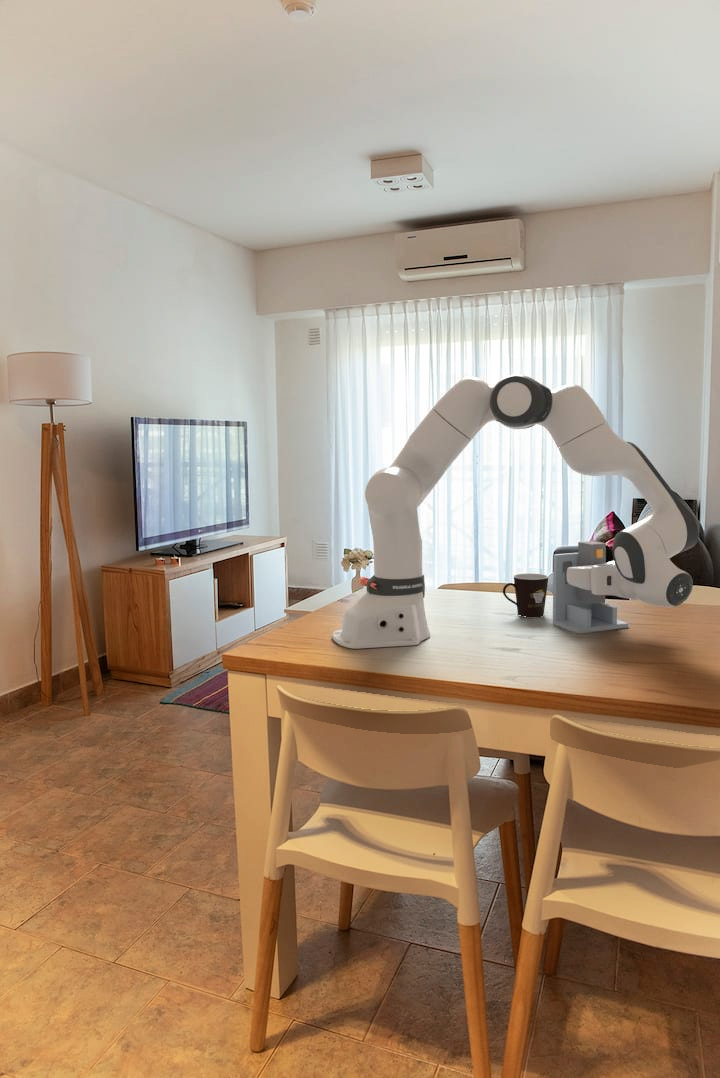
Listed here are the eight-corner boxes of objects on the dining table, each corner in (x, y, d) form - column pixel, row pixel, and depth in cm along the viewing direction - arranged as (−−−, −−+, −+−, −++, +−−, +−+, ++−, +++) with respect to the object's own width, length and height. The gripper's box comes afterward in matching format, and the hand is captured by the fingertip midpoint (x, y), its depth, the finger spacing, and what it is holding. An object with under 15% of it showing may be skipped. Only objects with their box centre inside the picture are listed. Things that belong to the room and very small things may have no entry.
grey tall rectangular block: (592, 604, 173) (592, 544, 171) (577, 600, 178) (578, 542, 176) (606, 602, 174) (607, 543, 172) (591, 598, 179) (592, 541, 178)
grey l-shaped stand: (577, 633, 170) (578, 560, 168) (552, 624, 180) (553, 554, 177) (628, 627, 175) (629, 555, 173) (601, 618, 184) (602, 550, 182)
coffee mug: (545, 611, 193) (545, 573, 192) (550, 619, 185) (550, 579, 183) (500, 611, 194) (500, 573, 193) (503, 618, 186) (503, 579, 185)
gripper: (666, 559, 166) (625, 552, 179) (589, 567, 160) (552, 558, 173) (666, 587, 167) (625, 577, 180) (589, 595, 160) (552, 585, 173)
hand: (589, 568), depth 176 cm, fingers closed on grey tall rectangular block, 4 cm apart
